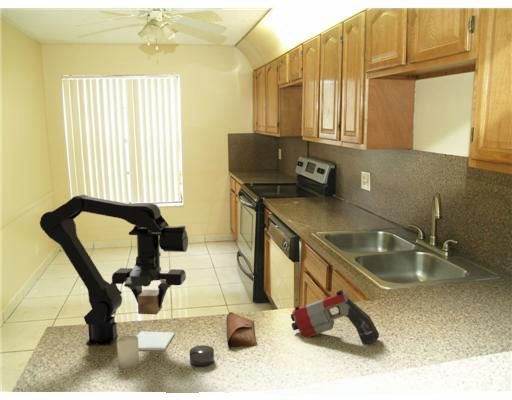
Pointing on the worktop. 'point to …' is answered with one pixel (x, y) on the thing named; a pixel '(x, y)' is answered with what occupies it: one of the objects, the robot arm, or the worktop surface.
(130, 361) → the stoneware jar
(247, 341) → the sunglasses case
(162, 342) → the tile
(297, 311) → the toy gun
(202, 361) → the black tin
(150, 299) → the walnut cube
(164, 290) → the robot arm
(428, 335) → the worktop surface
